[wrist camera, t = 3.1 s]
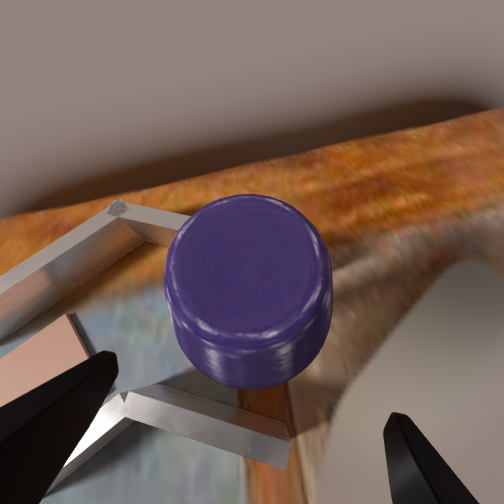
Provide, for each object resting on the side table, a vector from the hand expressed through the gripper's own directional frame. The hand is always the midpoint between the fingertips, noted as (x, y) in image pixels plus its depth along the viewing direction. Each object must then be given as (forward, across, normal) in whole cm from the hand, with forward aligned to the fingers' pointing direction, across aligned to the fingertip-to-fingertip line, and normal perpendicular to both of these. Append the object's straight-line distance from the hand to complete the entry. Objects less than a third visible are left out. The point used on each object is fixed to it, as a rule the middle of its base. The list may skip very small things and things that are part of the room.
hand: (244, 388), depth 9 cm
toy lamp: (+10, 0, +6) cm, 12 cm away
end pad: (+5, +15, +11) cm, 19 cm away
